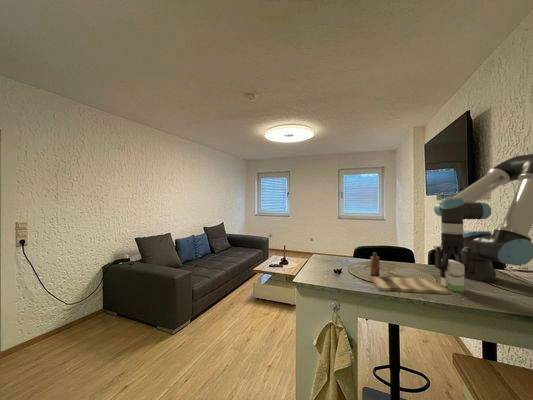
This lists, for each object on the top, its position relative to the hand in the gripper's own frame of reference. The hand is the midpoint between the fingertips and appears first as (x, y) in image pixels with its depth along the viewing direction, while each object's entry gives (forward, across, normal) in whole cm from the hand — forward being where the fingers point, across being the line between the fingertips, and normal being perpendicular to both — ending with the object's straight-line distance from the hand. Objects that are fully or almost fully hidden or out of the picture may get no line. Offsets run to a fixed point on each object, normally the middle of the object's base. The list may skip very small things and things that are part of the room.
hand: (452, 285), depth 100 cm
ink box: (+1, 0, 0) cm, 1 cm away
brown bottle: (+1, +29, -12) cm, 31 cm away
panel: (+1, +19, 0) cm, 19 cm away
